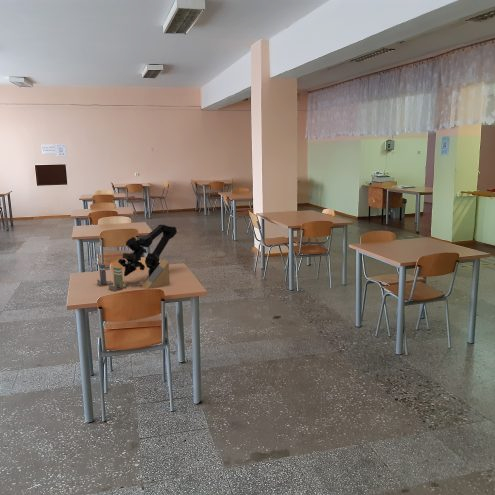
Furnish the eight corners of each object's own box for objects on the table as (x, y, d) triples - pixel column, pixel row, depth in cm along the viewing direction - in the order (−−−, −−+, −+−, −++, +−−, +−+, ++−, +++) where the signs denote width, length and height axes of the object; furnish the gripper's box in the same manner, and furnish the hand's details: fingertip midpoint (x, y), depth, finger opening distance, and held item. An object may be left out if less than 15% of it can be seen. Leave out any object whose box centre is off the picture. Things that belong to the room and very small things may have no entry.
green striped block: (117, 285, 289) (116, 266, 287) (123, 286, 287) (122, 267, 284) (114, 286, 287) (112, 267, 285) (120, 287, 285) (118, 268, 282)
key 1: (104, 281, 298) (103, 263, 296) (106, 283, 294) (105, 264, 291) (100, 282, 297) (98, 263, 294) (102, 284, 292) (101, 265, 290)
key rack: (109, 281, 302) (108, 277, 301) (127, 288, 287) (127, 283, 286) (95, 284, 295) (95, 280, 295) (113, 291, 280) (113, 287, 280)
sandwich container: (141, 286, 292) (139, 262, 289) (164, 282, 300) (163, 259, 297) (146, 289, 285) (145, 265, 282) (169, 285, 293) (168, 261, 290)
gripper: (119, 246, 296) (106, 267, 289) (140, 249, 286) (127, 270, 279) (129, 256, 304) (117, 276, 297) (150, 259, 294) (138, 280, 287)
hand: (124, 275), depth 290 cm, fingers closed
